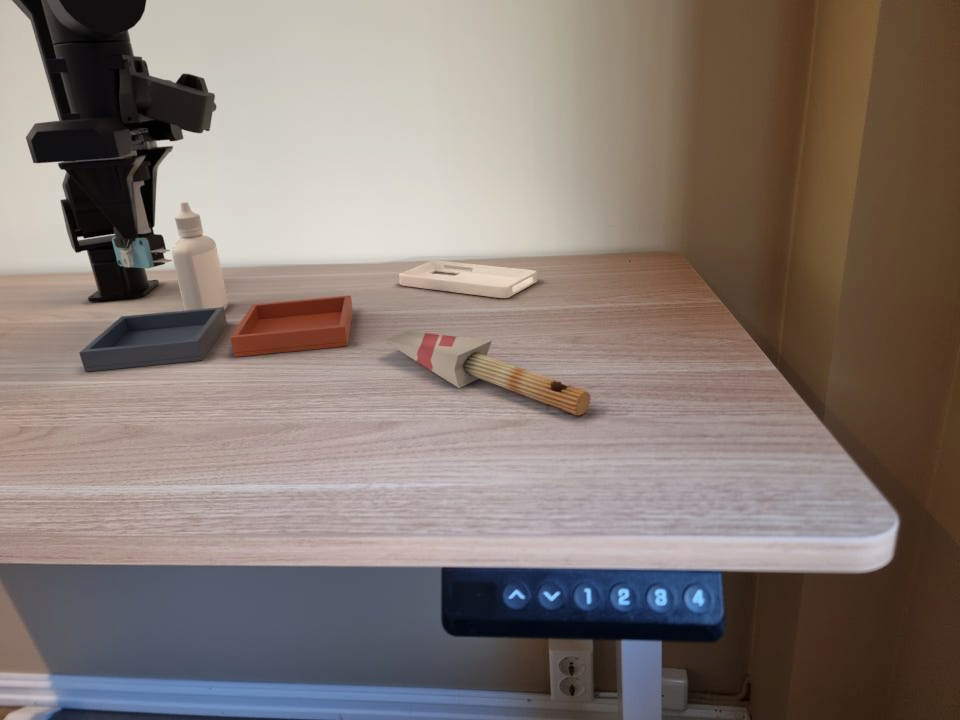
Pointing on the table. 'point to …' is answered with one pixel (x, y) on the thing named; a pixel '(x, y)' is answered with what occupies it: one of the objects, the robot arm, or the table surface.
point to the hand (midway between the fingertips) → (140, 233)
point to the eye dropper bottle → (197, 264)
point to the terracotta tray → (294, 326)
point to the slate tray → (155, 339)
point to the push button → (140, 232)
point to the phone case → (469, 279)
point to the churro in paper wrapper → (485, 368)
